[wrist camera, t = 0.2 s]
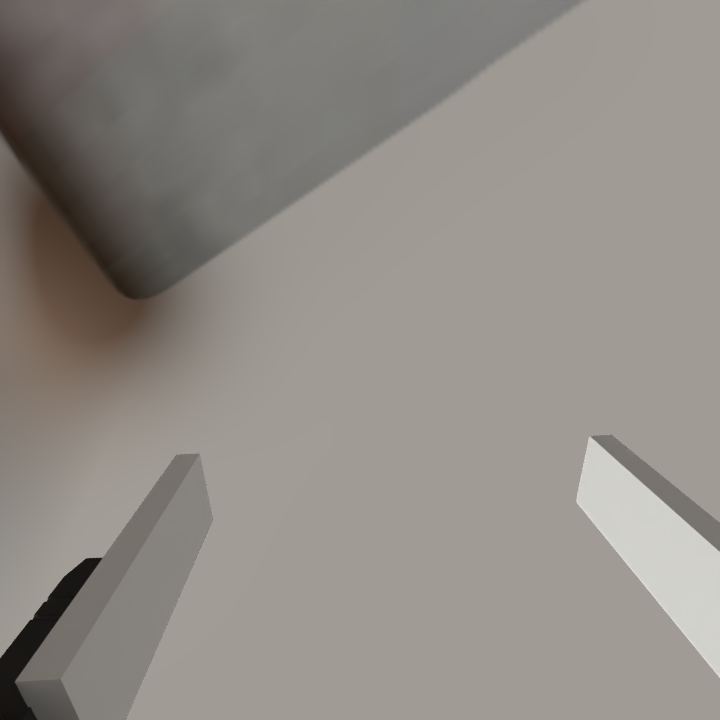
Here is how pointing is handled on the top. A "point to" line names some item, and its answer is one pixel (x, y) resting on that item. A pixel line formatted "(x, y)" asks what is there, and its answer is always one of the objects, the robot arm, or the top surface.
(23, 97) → the top surface
